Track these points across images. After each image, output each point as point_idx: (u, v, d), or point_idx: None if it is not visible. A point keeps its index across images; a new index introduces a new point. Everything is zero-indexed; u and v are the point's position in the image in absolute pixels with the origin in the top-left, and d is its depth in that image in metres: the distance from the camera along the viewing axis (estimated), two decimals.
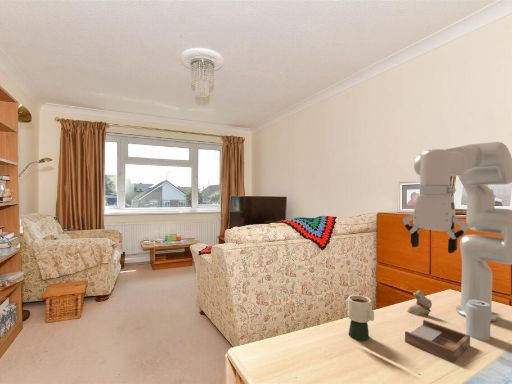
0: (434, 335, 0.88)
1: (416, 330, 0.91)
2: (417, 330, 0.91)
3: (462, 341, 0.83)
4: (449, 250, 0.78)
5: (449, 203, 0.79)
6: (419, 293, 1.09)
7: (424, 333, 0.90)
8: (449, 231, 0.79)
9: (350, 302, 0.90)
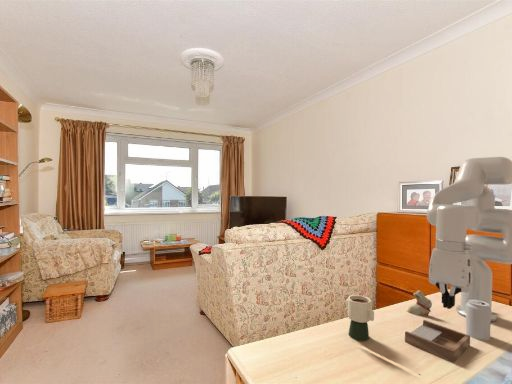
0: (434, 335, 0.88)
1: (416, 330, 0.91)
2: (417, 330, 0.91)
3: (462, 341, 0.83)
4: (448, 306, 0.83)
5: (466, 260, 0.80)
6: (419, 293, 1.09)
7: (424, 333, 0.90)
8: (453, 288, 0.82)
9: (350, 302, 0.90)
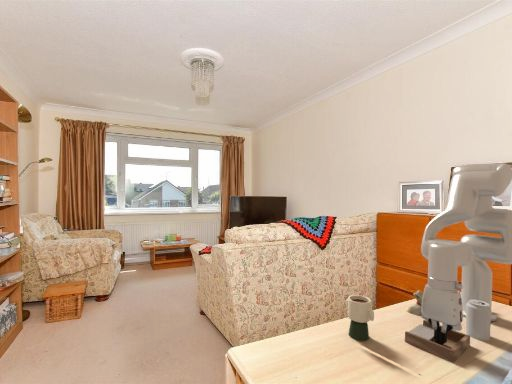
0: (432, 334, 0.89)
1: (414, 329, 0.92)
2: (415, 329, 0.92)
3: (462, 341, 0.83)
4: (440, 342, 0.85)
5: (457, 299, 0.82)
6: (419, 293, 1.09)
7: (422, 332, 0.90)
8: (445, 326, 0.84)
9: (350, 302, 0.90)
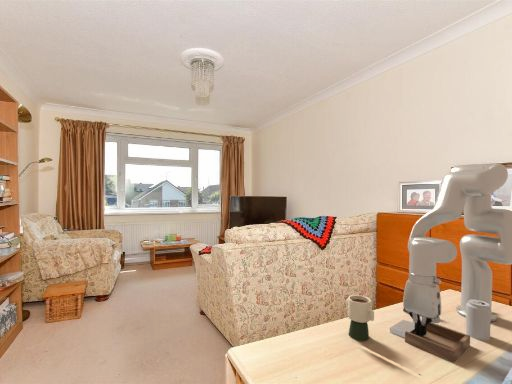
0: (413, 327, 0.93)
1: (396, 324, 0.96)
2: (397, 324, 0.96)
3: (462, 341, 0.83)
4: (419, 335, 0.90)
5: (435, 294, 0.86)
6: None
7: (404, 326, 0.94)
8: (424, 319, 0.89)
9: (350, 302, 0.90)
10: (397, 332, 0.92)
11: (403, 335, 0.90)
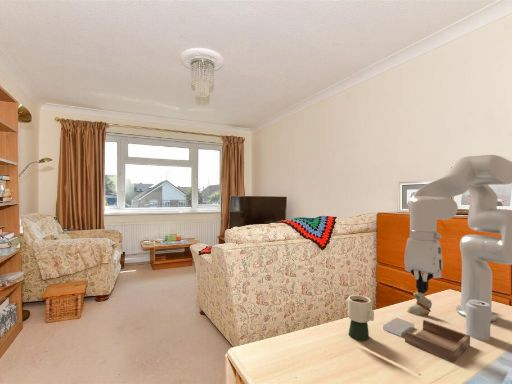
0: (406, 326, 0.95)
1: (390, 322, 0.98)
2: (391, 322, 0.98)
3: (462, 341, 0.83)
4: (421, 291, 0.90)
5: (436, 248, 0.87)
6: (419, 293, 1.09)
7: (397, 325, 0.96)
8: (426, 275, 0.89)
9: (350, 302, 0.90)
10: (390, 331, 0.93)
11: (396, 334, 0.92)
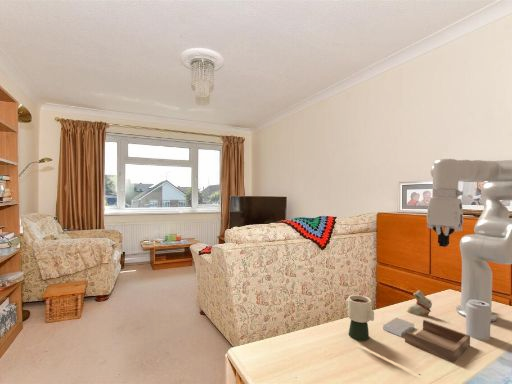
0: (406, 326, 0.95)
1: (390, 322, 0.98)
2: (391, 322, 0.98)
3: (462, 341, 0.83)
4: (443, 244, 0.98)
5: (458, 204, 0.95)
6: (419, 293, 1.09)
7: (397, 325, 0.96)
8: (447, 229, 0.97)
9: (350, 302, 0.90)
10: (390, 331, 0.93)
11: (396, 334, 0.92)
